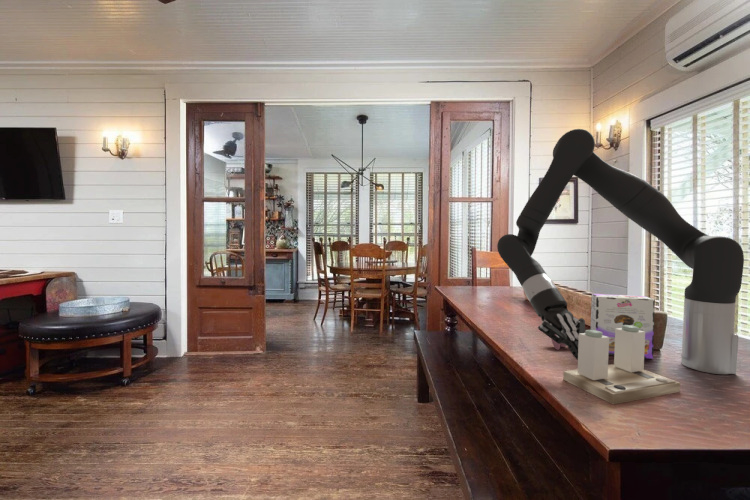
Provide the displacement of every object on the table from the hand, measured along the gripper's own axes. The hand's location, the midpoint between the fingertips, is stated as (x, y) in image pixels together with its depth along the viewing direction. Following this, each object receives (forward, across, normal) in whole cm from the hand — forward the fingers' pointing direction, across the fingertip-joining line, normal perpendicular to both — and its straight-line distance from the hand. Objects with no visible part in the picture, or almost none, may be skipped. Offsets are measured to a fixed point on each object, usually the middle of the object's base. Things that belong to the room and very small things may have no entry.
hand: (582, 358), depth 79 cm
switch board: (+7, +6, +1) cm, 9 cm away
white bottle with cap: (+4, 0, 0) cm, 4 cm away
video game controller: (-10, +16, +18) cm, 26 cm away
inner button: (+3, +12, +1) cm, 12 cm away
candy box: (-4, +26, +12) cm, 29 cm away
